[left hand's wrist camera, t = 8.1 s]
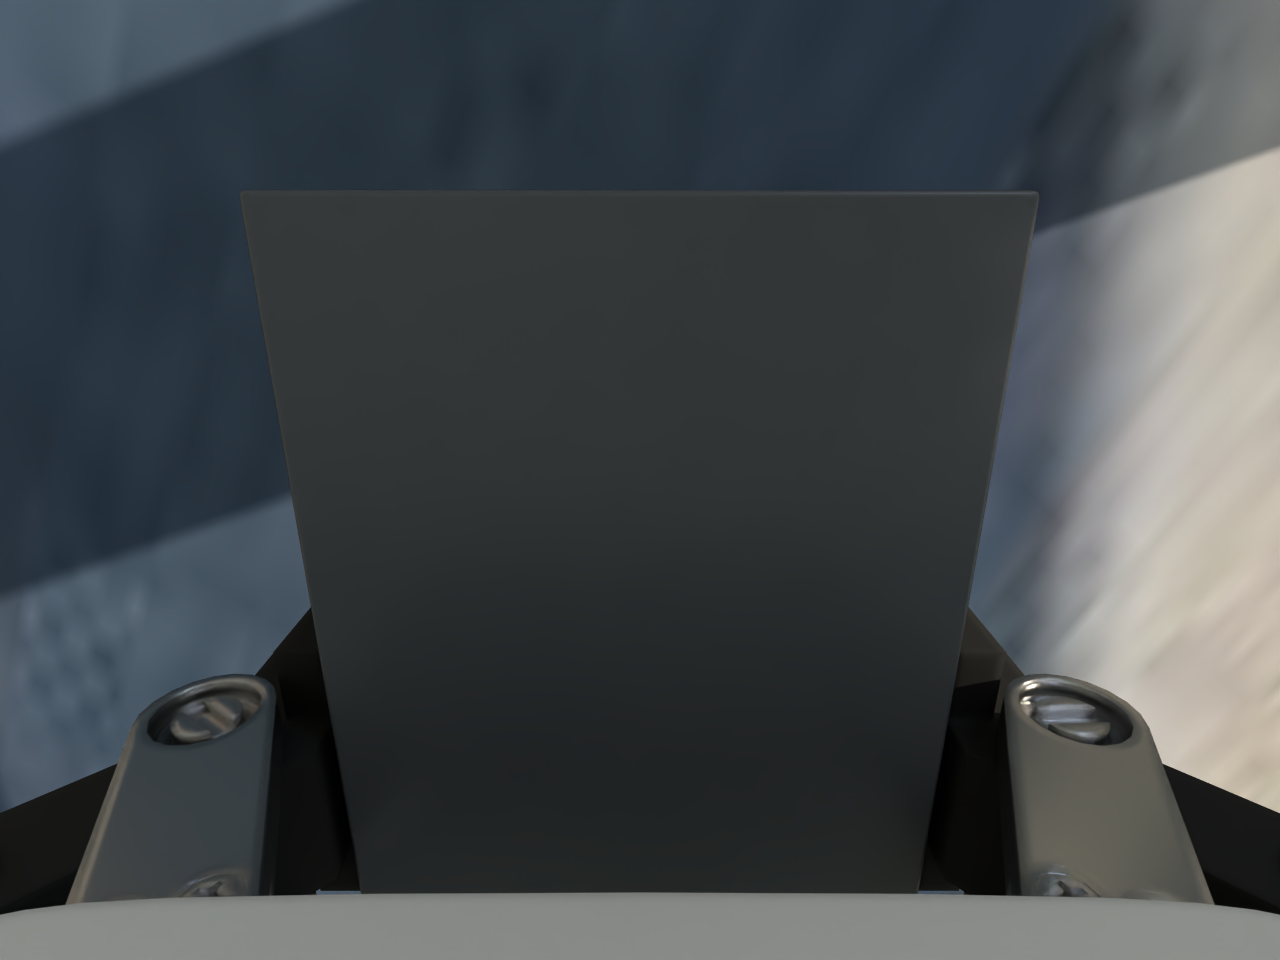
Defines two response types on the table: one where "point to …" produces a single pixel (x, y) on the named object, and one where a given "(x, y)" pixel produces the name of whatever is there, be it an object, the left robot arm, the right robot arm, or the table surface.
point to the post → (639, 520)
